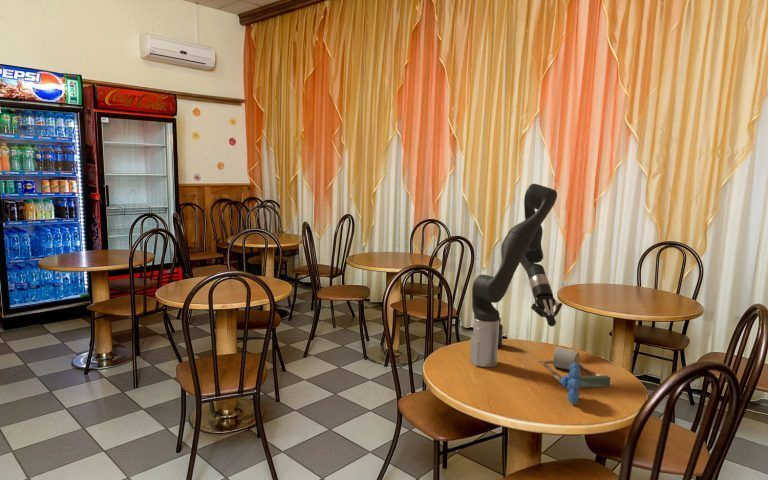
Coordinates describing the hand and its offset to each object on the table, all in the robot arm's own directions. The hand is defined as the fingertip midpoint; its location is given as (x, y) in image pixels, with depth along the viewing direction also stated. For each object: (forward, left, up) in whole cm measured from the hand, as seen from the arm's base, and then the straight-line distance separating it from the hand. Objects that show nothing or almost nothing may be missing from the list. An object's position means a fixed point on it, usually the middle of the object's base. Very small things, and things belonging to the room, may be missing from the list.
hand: (552, 325), depth 191 cm
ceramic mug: (-1, -11, -13) cm, 17 cm away
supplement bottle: (-17, +15, -13) cm, 26 cm away
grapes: (-15, -36, -13) cm, 42 cm away
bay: (-2, -17, -12) cm, 21 cm away
